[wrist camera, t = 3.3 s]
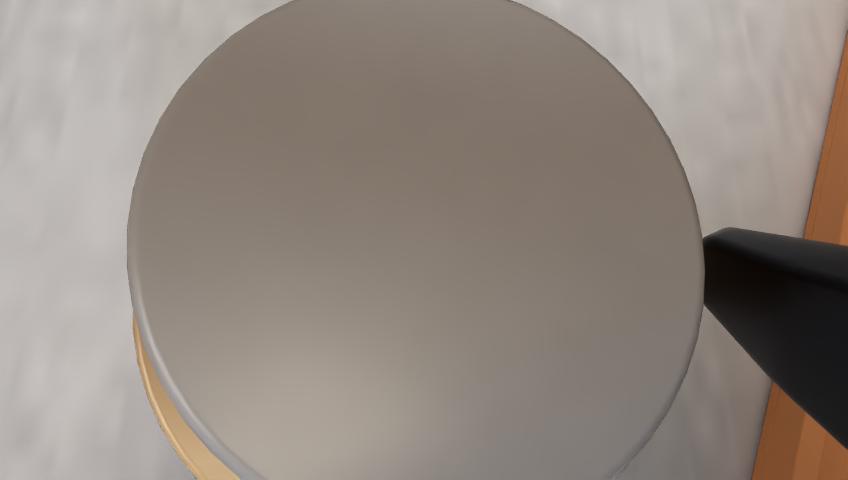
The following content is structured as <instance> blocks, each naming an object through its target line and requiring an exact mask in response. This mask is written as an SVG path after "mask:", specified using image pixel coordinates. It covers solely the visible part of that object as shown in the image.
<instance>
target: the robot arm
mask: <svg viewBox="0 0 848 480" xmlns="http://www.w3.org/2000/svg"><path fill="white" fill-rule="evenodd" d="M702 241H703V253H704V265H705V279H704V302H703V304H704V305H705V306H706V307H707V309H708V310H709V311H710V312H711V313H712V314H713V315H714V316H715V317H716V319H717V320H718V321H719V322H720V323H721V324H722V325H723V326H724V327H725V329H726V330H727V331H728V332H729V333H730V334H731V335H732V336H733V337H734V339H735V340H736V341H737V342H738V343H739V344H740V345H741V346H742V347H743V349H744V350H745V351H746V352H747V353H748V354H749V355H750V356H751V357H752V359H753V360H754V361H755V362H756V363H757V364H758V365H759V366H760V368H761V369H762V370H763V371H764V372H765V373H766V374H767V375H768V376H769V377H770V378H771V379H772V380H773V381H774V383H775V384H776V385H777V386H778V387H779V388H780V389H781V390H782V391H783V392H785V393H786V394H787V395H788V396H789V397H790V398H791V399H792V400H793V401H794V402H795V403H796V404H797V405H798V406H799V407H801V408H802V409H803V410H804V411H805V412H806V413H807V414H808V415H809V416H810V417H812V418H813V419H814V420H815V421H816V422H817V423H818V424H819V425H820V426H821V427H822V428H824V429H825V430H826V431H827V432H828V433H829V434H830V435H831V436H832V437H833V438H835V439H836V440H837V441H838V442H839V443H840V444H841V445H842V446H843V447H844V448H845V449H847V450H848V246H845V245H839V244H833V243H826V242H820V241H814V240H808V239H801V238H795V237H789V236H783V235H777V234H770V233H764V232H758V231H752V230H746V229H739V228H732V227H728V228H724V229H721V230H719V231H717V232H715V233H712V234H710V235H708V236H706V237H704V238H703V239H702Z"/></svg>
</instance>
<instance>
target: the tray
mask: <svg viewBox="0 0 848 480" xmlns="http://www.w3.org/2000/svg"><path fill="white" fill-rule="evenodd" d="M803 239H808V240H814V241H820V242H826V243H833V244H839V245H845V246H848V33H847V37H846V42H845V47H844V51H843V56H842V61H841V65H840V70H839V75H838V79H837V84H836V89H835V93H834V98H833V103H832V107H831V112H830V117H829V121H828V126H827V131H826V135H825V140H824V145H823V149H822V154H821V159H820V163H819V168H818V173H817V177H816V182H815V187H814V191H813V196H812V201H811V205H810V210H809V215H808V219H807V224H806V229H805V233H804V238H803ZM752 480H848V450H847V449H845V448H844V447H843V446H842V445H841V444H840V443H839V442H838V441H837V440H836V439H835V438H833V437H832V436H831V435H830V434H829V433H828V432H827V431H826V430H825V429H824V428H822V427H821V426H820V425H819V424H818V423H817V422H816V421H815V420H814V419H813V418H812V417H810V416H809V415H808V414H807V413H806V412H805V411H804V410H803V409H802V408H801V407H799V406H798V405H797V404H796V403H795V402H794V401H793V400H792V399H791V398H790V397H789V396H788V395H787V394H786V393H785V392H783V391H782V390H781V389H780V388H779V387H778V386H777V385H776V384H775V383H774V381H773V383H772V387H771V392H770V397H769V401H768V406H767V411H766V415H765V420H764V425H763V429H762V434H761V439H760V443H759V448H758V453H757V457H756V462H755V467H754V471H753V476H752Z"/></svg>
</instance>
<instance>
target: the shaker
mask: <svg viewBox="0 0 848 480" xmlns="http://www.w3.org/2000/svg"><path fill="white" fill-rule="evenodd" d="M127 271H128V279H129V286H130V293H131V300H132V307H133V333H134V340H135V348H136V355H137V362H138V366H139V369H140V373H141V376H142V380H143V383H144V387H145V390H146V394H147V397H148V399H149V401H150V404H151V406H152V408H153V410H154V413H155V415H156V417H157V419H158V422H159V424H160V426H161V428H162V430H163V432H164V433H165V435H166V436H167V438H168V439H169V441H170V443H171V444H172V446H173V447H174V449H175V451H176V452H177V454H178V455H179V457H180V459H181V460H182V461H183V462H184V463H185V464H186V466H187V467H188V468H189V469H190V470H191V472H192V473H193V474H194V475H195V476H196V477H197V479H198V480H611V479H612V478H613V477H615V476H616V475H617V474H618V473H619V472H620V471H622V470H623V469H624V468H625V467H626V466H627V465H628V464H629V462H630V461H631V460H632V459H633V458H634V457H635V456H636V455H637V453H638V452H639V451H640V450H641V449H642V448H643V447H644V445H645V444H646V443H647V442H648V441H649V440H650V438H651V437H652V435H653V434H654V432H655V431H656V429H657V428H658V426H659V425H660V423H661V422H662V420H663V419H664V417H665V415H666V414H667V412H668V411H669V409H670V407H671V405H672V403H673V401H674V399H675V397H676V395H677V393H678V391H679V388H680V386H681V384H682V382H683V380H684V378H685V376H686V373H687V370H688V367H689V364H690V361H691V358H692V355H693V351H694V348H695V345H696V342H697V338H698V333H699V327H700V321H701V316H702V310H703V302H704V279H705V265H704V253H703V241H702V233H701V228H700V223H699V219H698V214H697V209H696V204H695V200H694V197H693V194H692V191H691V189H690V186H689V183H688V180H687V177H686V174H685V171H684V168H683V166H682V164H681V162H680V160H679V158H678V156H677V153H676V151H675V149H674V147H673V145H672V143H671V141H670V139H669V137H668V136H667V134H666V132H665V131H664V129H663V127H662V126H661V124H660V123H659V121H658V119H657V118H656V116H655V114H654V113H653V111H652V110H651V109H650V107H649V106H648V105H647V103H646V102H645V101H644V100H643V98H642V97H641V96H640V95H639V93H638V92H637V91H636V89H635V88H634V87H633V86H632V84H631V83H630V82H629V81H628V80H627V79H626V78H625V77H624V76H623V75H622V74H621V73H620V72H619V71H618V70H617V69H616V68H615V67H614V66H613V65H612V64H611V63H610V62H609V61H608V60H607V59H606V58H605V57H603V56H602V55H601V54H600V53H599V52H597V51H596V50H595V49H594V48H592V47H591V46H590V45H589V44H588V43H586V42H585V41H584V40H583V39H581V38H580V37H578V36H577V35H575V34H574V33H572V32H571V31H569V30H568V29H566V28H565V27H563V26H561V25H560V24H558V23H557V22H555V21H554V20H552V19H550V18H548V17H546V16H544V15H542V14H540V13H538V12H536V11H534V10H532V9H530V8H528V7H526V6H524V5H522V4H519V3H517V2H514V1H511V0H293V1H291V2H289V3H287V4H285V5H283V6H281V7H278V8H276V9H274V10H272V11H270V12H268V13H266V14H264V15H262V16H260V17H259V18H257V19H256V20H254V21H253V22H251V23H250V24H248V25H247V26H245V27H244V28H242V29H241V30H239V31H238V32H236V33H235V34H233V35H232V36H231V37H230V38H229V39H227V40H226V41H225V42H224V43H223V44H222V45H221V46H219V47H218V48H217V49H216V50H215V51H214V52H213V53H211V54H210V55H209V56H208V57H207V58H206V59H205V60H204V61H203V62H202V63H201V64H200V65H199V67H198V68H197V69H196V70H195V71H194V72H193V74H192V75H191V76H190V77H189V78H188V79H187V80H186V82H185V83H184V84H183V85H182V86H181V87H180V89H179V90H178V92H177V93H176V95H175V96H174V98H173V99H172V101H171V102H170V104H169V105H168V107H167V109H166V110H165V112H164V113H163V115H162V116H161V118H160V119H159V121H158V124H157V126H156V128H155V130H154V132H153V134H152V136H151V139H150V141H149V143H148V145H147V147H146V149H145V152H144V154H143V157H142V161H141V164H140V167H139V171H138V174H137V177H136V181H135V184H134V187H133V192H132V199H131V205H130V212H129V218H128V225H127Z"/></svg>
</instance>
